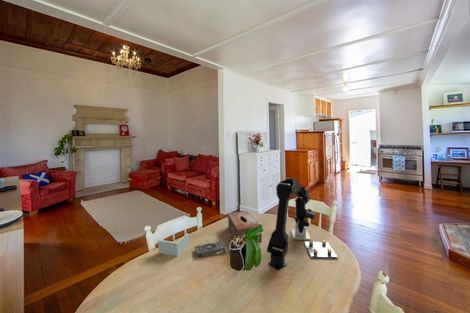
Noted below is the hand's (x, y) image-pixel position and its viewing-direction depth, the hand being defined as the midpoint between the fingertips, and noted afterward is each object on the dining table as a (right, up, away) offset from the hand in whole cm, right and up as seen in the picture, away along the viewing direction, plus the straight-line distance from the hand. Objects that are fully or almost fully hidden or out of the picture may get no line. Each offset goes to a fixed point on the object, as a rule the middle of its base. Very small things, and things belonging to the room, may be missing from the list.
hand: (300, 231), depth 133 cm
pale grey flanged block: (0, -3, 0) cm, 2 cm away
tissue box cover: (-35, -4, +6) cm, 36 cm away
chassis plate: (+5, -4, -17) cm, 18 cm away
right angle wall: (-75, -7, -10) cm, 76 cm away
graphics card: (-54, -7, -12) cm, 56 cm away
